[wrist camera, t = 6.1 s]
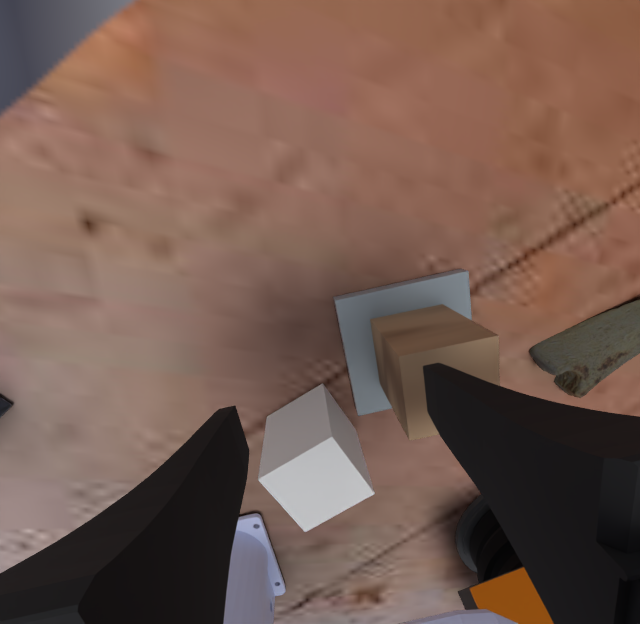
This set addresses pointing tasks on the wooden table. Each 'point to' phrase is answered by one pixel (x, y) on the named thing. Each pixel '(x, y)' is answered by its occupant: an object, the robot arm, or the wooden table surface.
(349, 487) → the grey block
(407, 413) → the walnut block
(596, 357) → the bone
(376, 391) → the coaster
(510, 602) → the sander
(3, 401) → the box
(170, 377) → the wooden table surface
